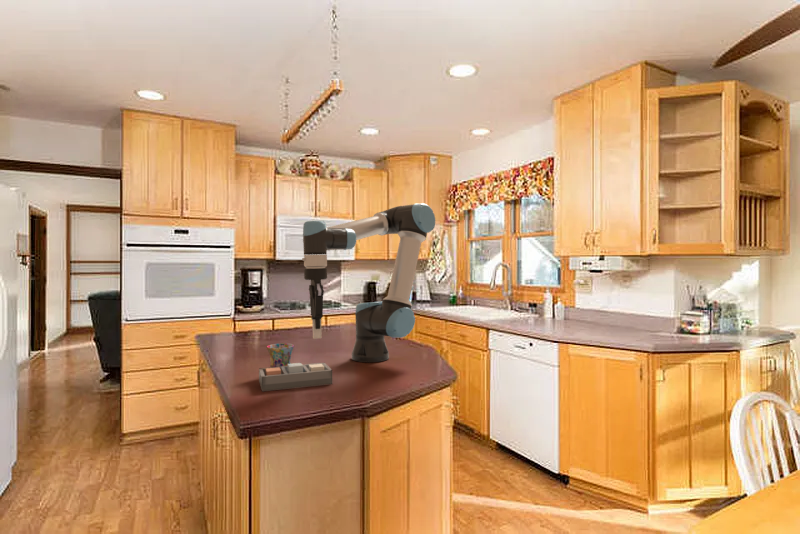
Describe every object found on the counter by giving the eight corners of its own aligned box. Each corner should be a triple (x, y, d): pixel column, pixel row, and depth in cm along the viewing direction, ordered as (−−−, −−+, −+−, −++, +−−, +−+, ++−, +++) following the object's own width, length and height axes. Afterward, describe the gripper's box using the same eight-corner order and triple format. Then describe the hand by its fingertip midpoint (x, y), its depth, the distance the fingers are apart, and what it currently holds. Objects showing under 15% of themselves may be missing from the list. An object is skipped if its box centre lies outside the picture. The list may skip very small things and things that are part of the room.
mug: (296, 377, 157) (295, 347, 157) (268, 380, 154) (267, 349, 154) (291, 370, 168) (291, 341, 168) (265, 372, 165) (264, 343, 165)
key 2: (321, 370, 156) (321, 363, 156) (324, 373, 152) (324, 366, 152) (308, 371, 154) (308, 364, 154) (311, 374, 150) (311, 367, 150)
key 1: (279, 374, 151) (279, 367, 151) (281, 377, 147) (281, 370, 147) (265, 375, 149) (265, 368, 149) (266, 379, 145) (266, 371, 145)
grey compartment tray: (324, 375, 160) (324, 362, 160) (332, 384, 149) (332, 370, 149) (259, 381, 152) (258, 368, 152) (262, 391, 141) (261, 376, 141)
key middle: (300, 369, 153) (300, 362, 153) (303, 372, 149) (303, 365, 149) (287, 371, 152) (287, 363, 152) (289, 374, 148) (289, 366, 148)
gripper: (301, 267, 157) (302, 336, 158) (307, 268, 145) (309, 342, 146) (322, 267, 160) (324, 334, 160) (331, 267, 148) (332, 340, 148)
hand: (317, 338), depth 153 cm, fingers closed
